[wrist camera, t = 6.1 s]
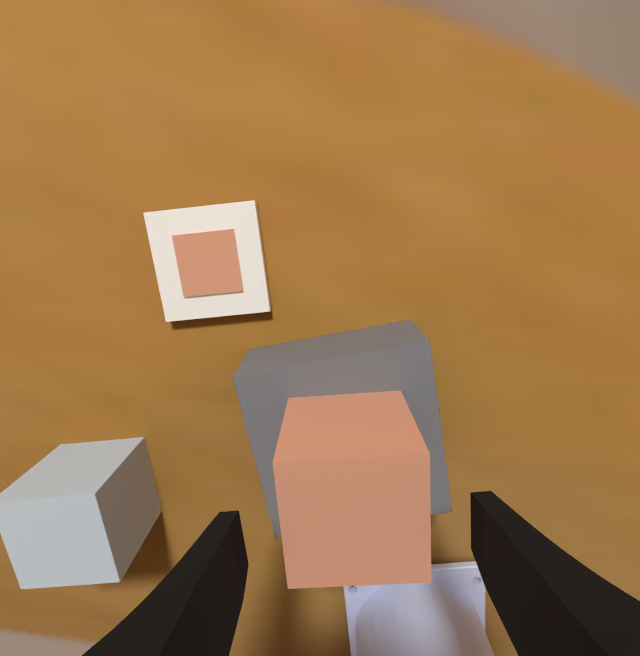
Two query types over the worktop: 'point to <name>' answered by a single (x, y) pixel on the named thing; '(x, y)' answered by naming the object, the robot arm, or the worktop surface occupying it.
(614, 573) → the worktop surface
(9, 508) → the light gray cube
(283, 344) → the charcoal base block
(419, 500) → the terracotta cube
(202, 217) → the tile
